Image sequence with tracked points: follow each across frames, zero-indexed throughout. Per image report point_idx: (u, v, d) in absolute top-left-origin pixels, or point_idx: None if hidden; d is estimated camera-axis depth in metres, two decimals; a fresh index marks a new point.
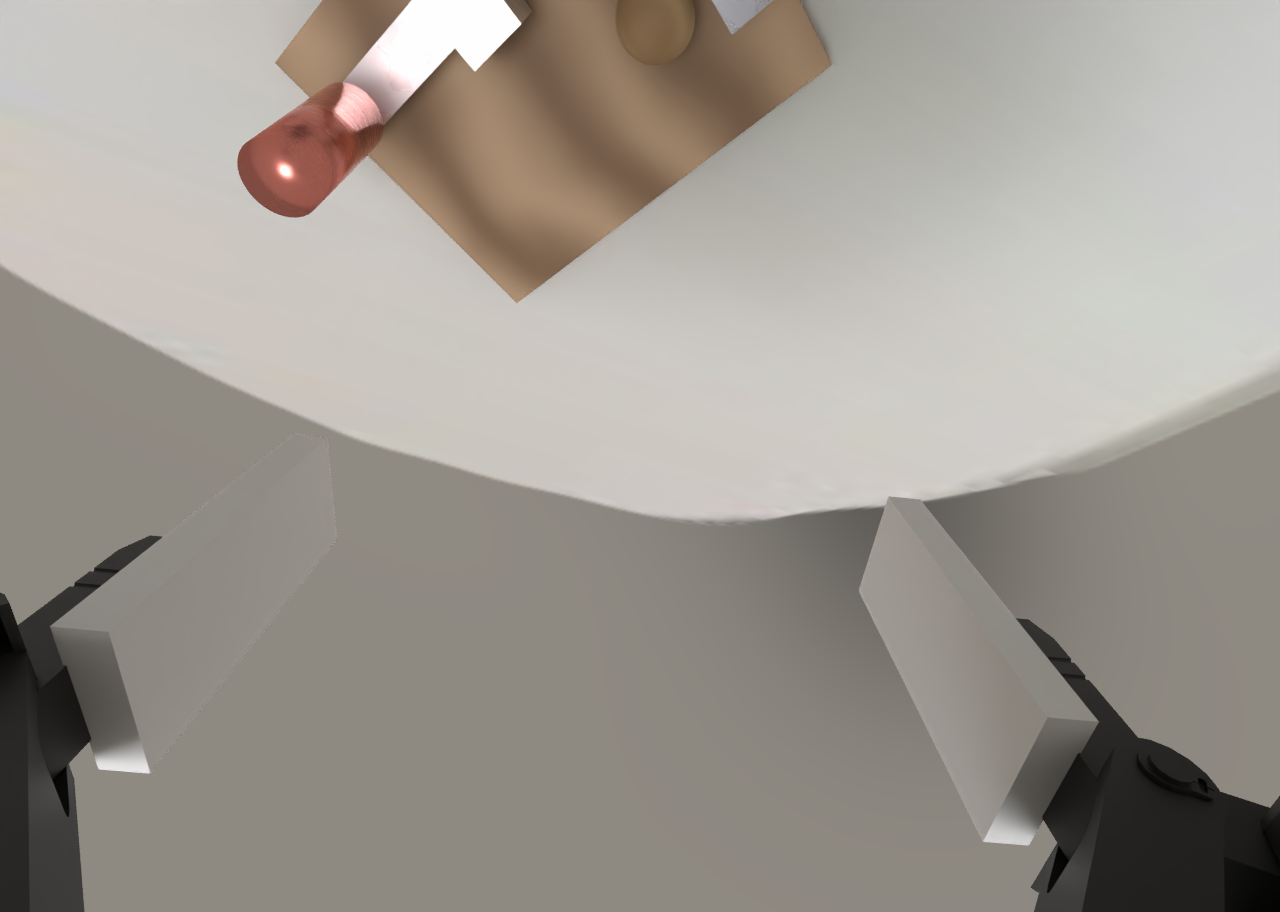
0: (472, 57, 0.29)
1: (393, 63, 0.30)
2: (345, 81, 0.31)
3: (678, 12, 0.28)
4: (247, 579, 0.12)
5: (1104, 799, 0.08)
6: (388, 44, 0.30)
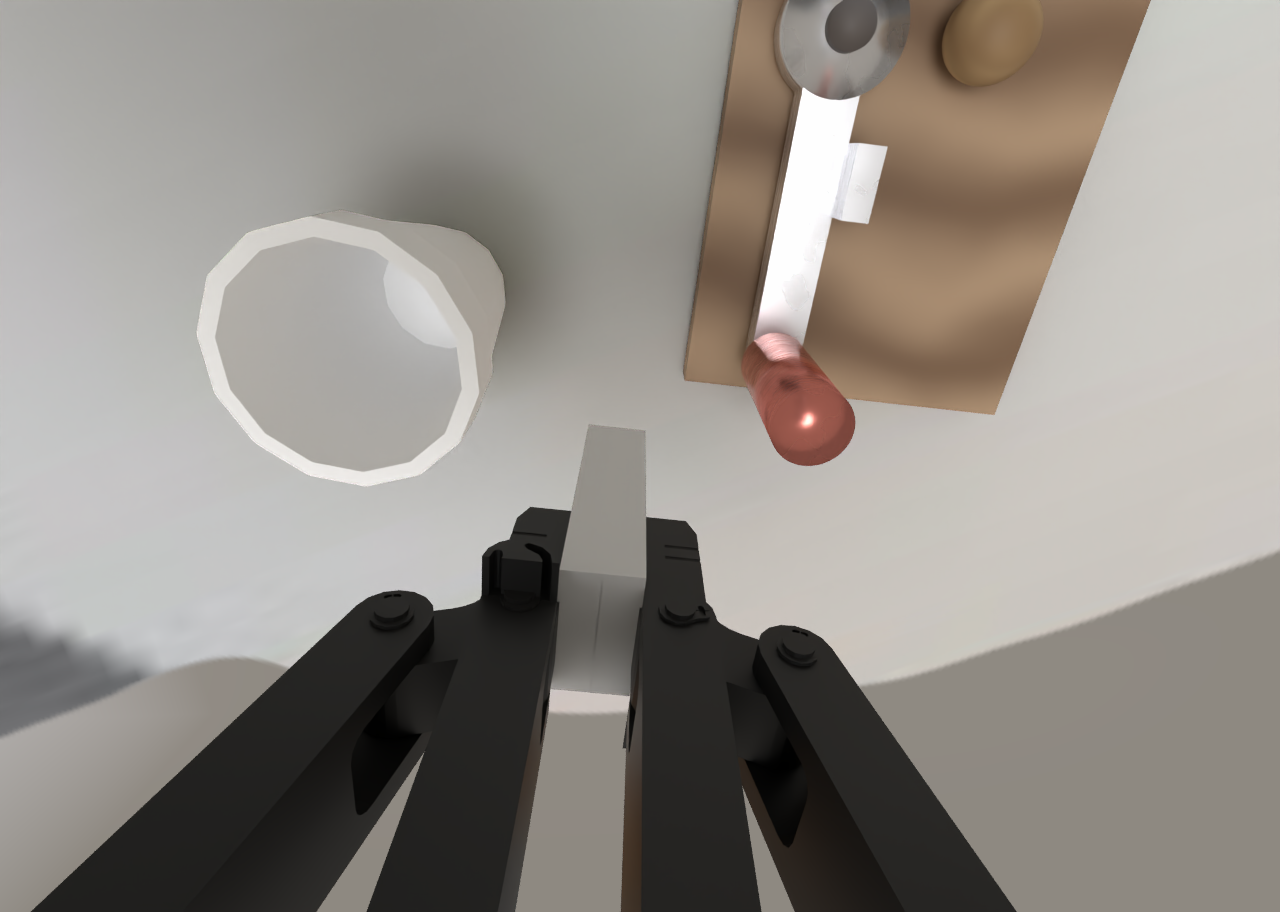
0: (860, 214, 0.27)
1: (786, 288, 0.30)
2: (755, 338, 0.31)
3: None
4: None
5: (643, 659, 0.09)
6: (774, 277, 0.30)
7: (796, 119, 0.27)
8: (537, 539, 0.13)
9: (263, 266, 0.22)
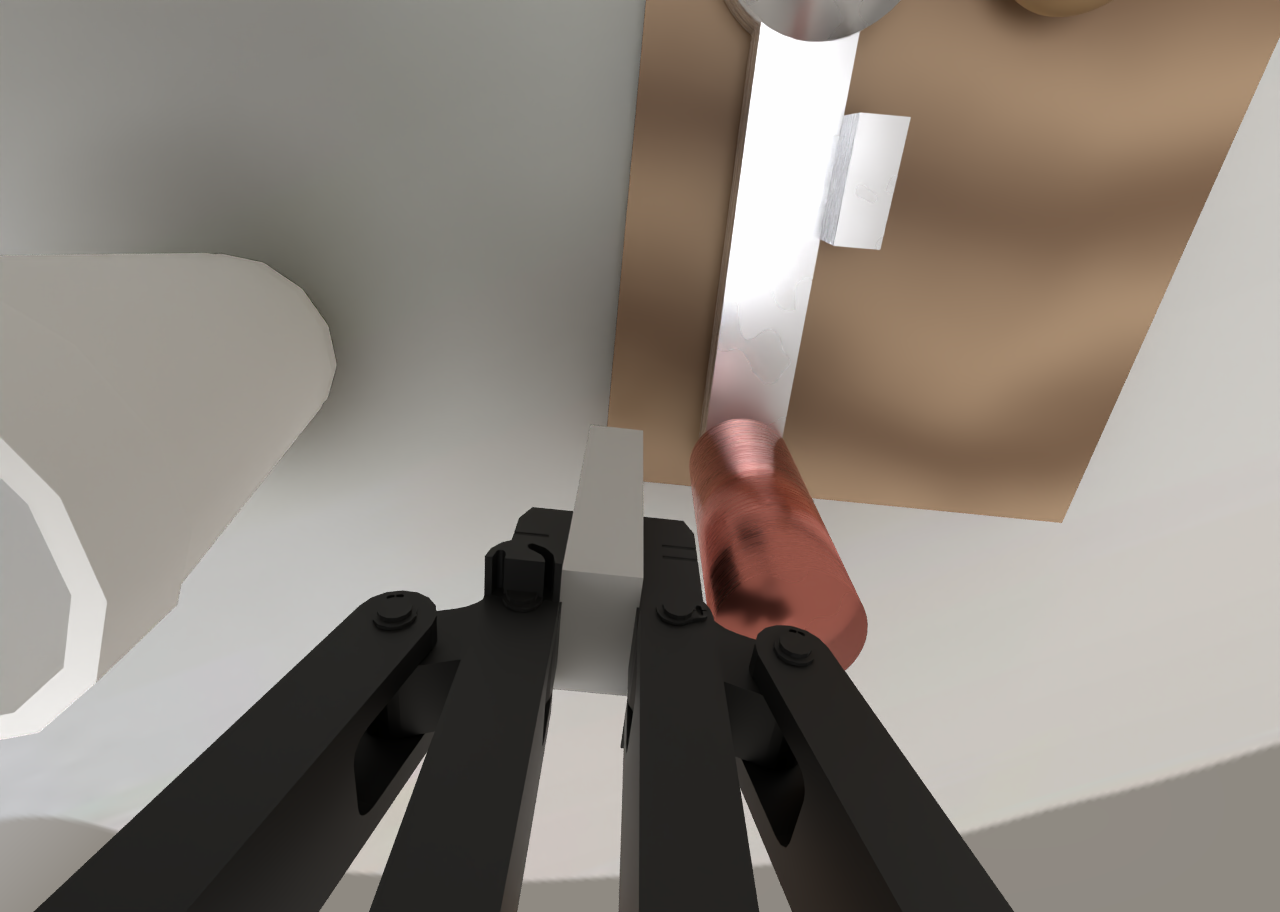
0: (866, 233, 0.16)
1: (751, 352, 0.19)
2: (709, 427, 0.20)
3: None
4: None
5: (640, 659, 0.09)
6: (732, 335, 0.19)
7: (753, 78, 0.16)
8: (539, 539, 0.13)
9: None
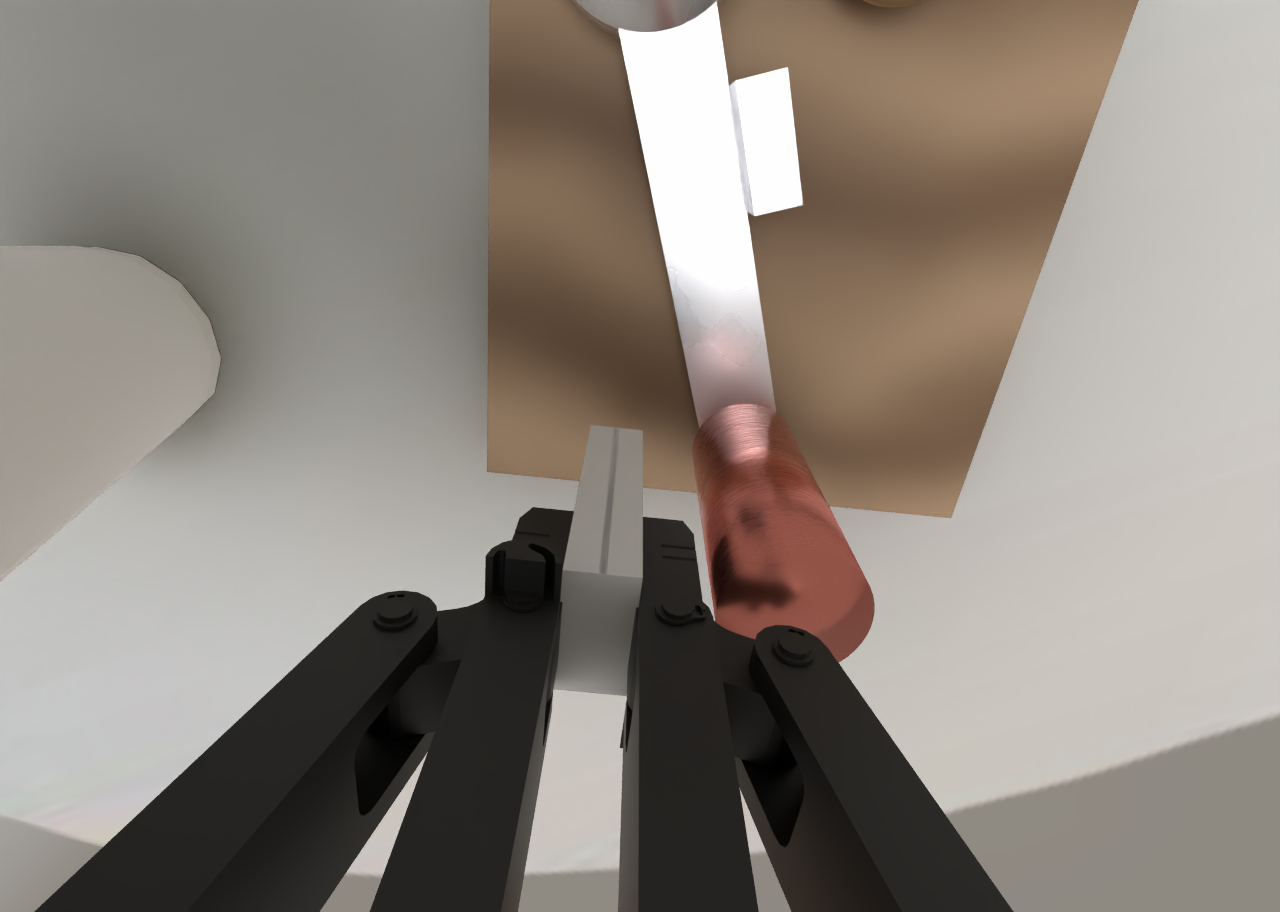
0: (783, 193, 0.16)
1: (717, 340, 0.19)
2: (700, 423, 0.20)
3: None
4: None
5: (639, 659, 0.09)
6: (693, 330, 0.19)
7: (629, 82, 0.16)
8: (540, 539, 0.13)
9: None
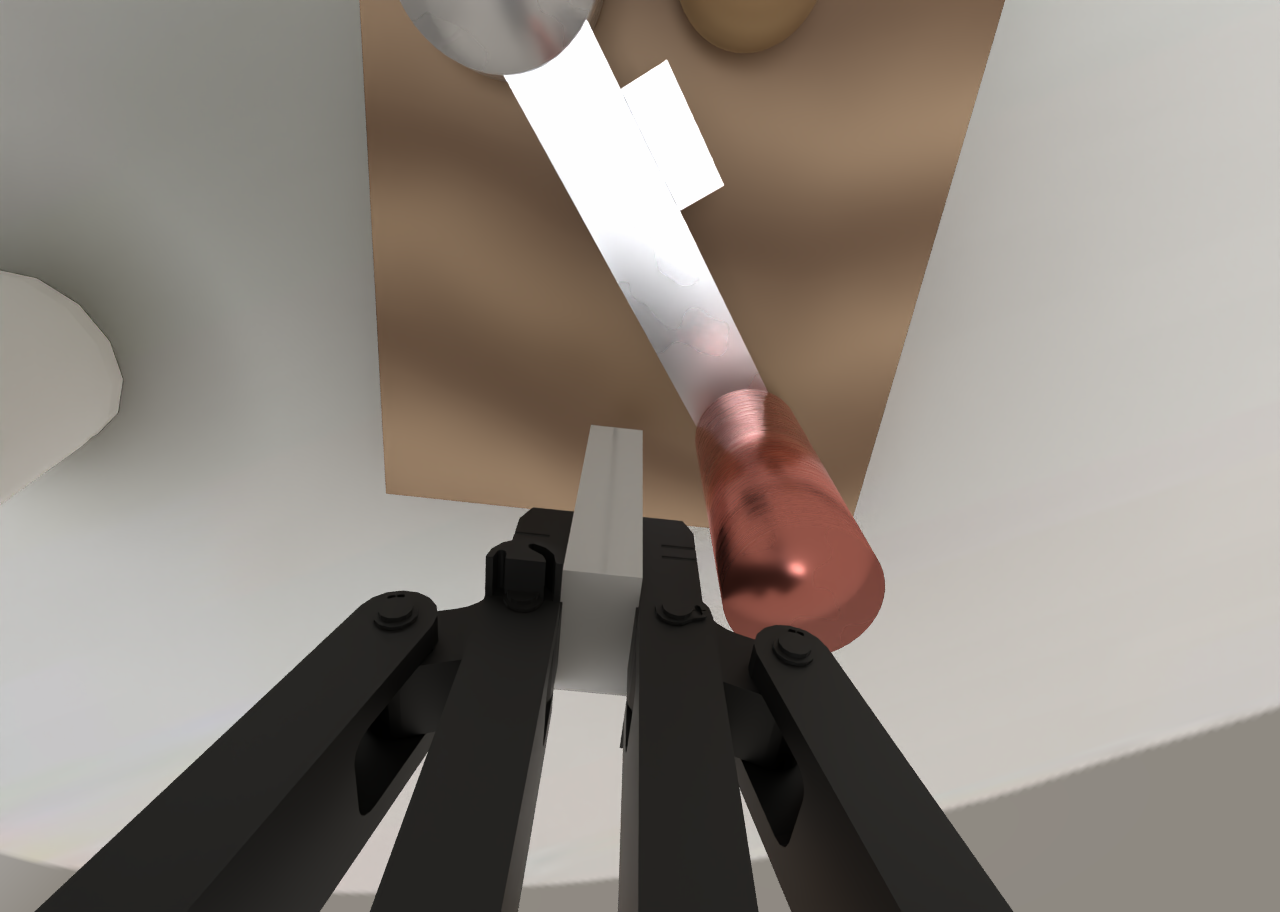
0: (701, 180, 0.16)
1: (687, 337, 0.19)
2: (696, 422, 0.20)
3: None
4: None
5: (639, 659, 0.09)
6: (661, 334, 0.19)
7: (530, 121, 0.17)
8: (540, 539, 0.13)
9: None
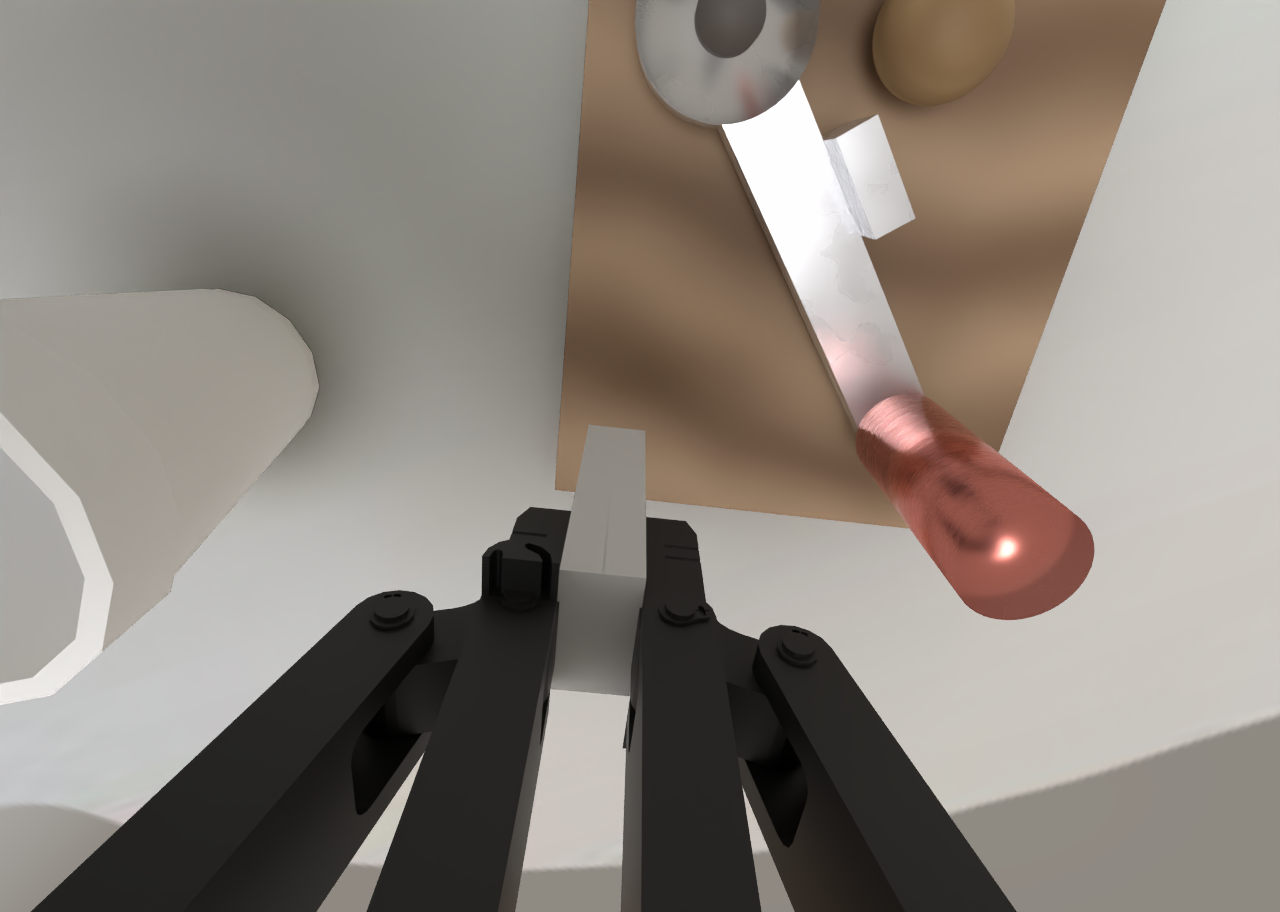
0: (897, 214, 0.18)
1: (858, 348, 0.21)
2: (858, 423, 0.22)
3: None
4: None
5: (643, 659, 0.09)
6: (835, 345, 0.21)
7: (739, 163, 0.19)
8: (537, 539, 0.13)
9: None
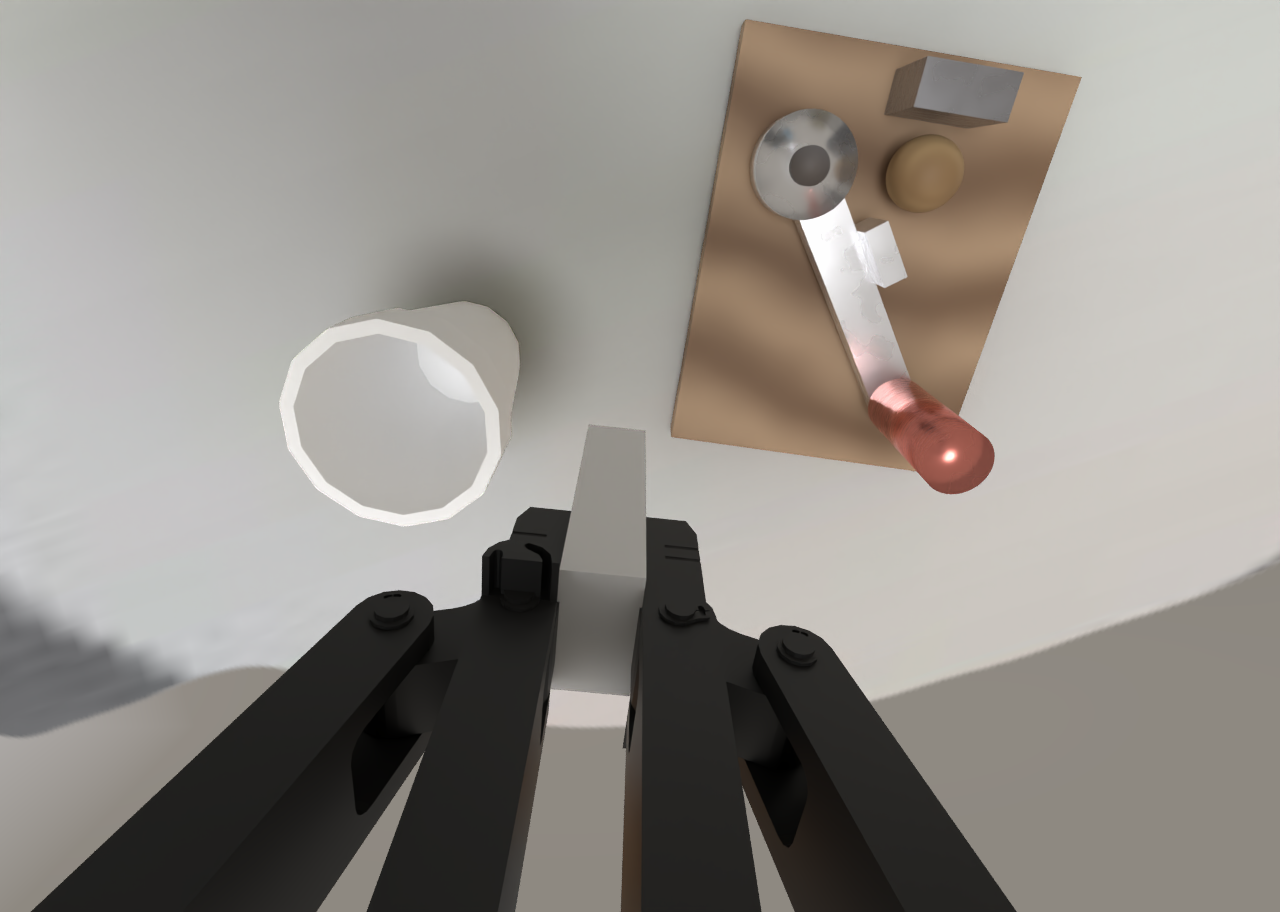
0: (897, 274, 0.33)
1: (871, 350, 0.35)
2: (870, 396, 0.36)
3: (948, 150, 0.30)
4: None
5: (643, 659, 0.09)
6: (858, 348, 0.35)
7: (807, 241, 0.33)
8: (537, 539, 0.13)
9: (334, 351, 0.27)
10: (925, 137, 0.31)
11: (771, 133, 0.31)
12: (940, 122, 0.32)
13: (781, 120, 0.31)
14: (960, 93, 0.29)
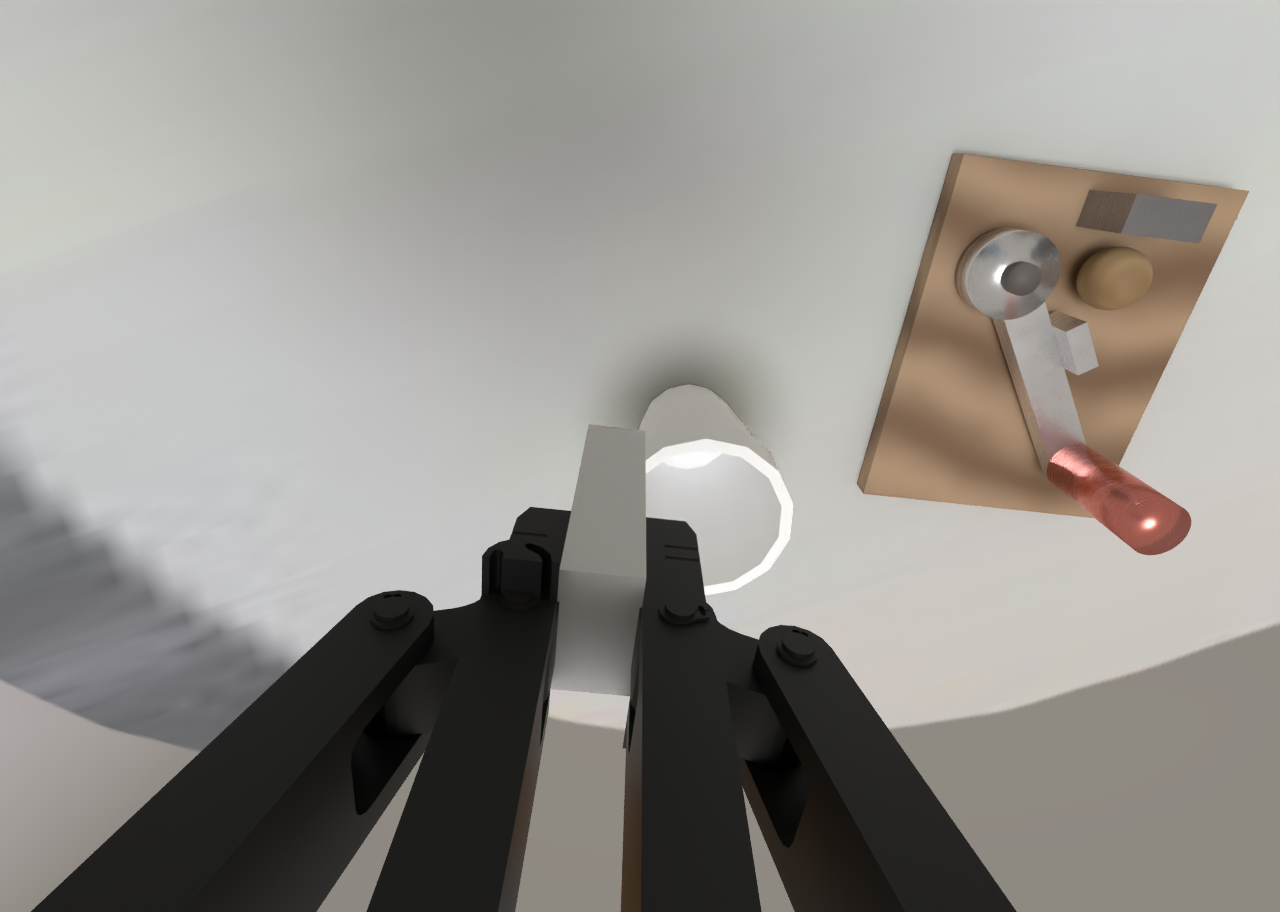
0: (1090, 364, 0.38)
1: (1055, 422, 0.41)
2: (1049, 459, 0.42)
3: (1143, 263, 0.36)
4: None
5: (642, 659, 0.09)
6: (1043, 420, 0.41)
7: (1008, 335, 0.39)
8: (537, 539, 0.13)
9: None
10: (1120, 250, 0.36)
11: (988, 251, 0.37)
12: None
13: (997, 241, 0.36)
14: (1161, 221, 0.34)
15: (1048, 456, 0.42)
